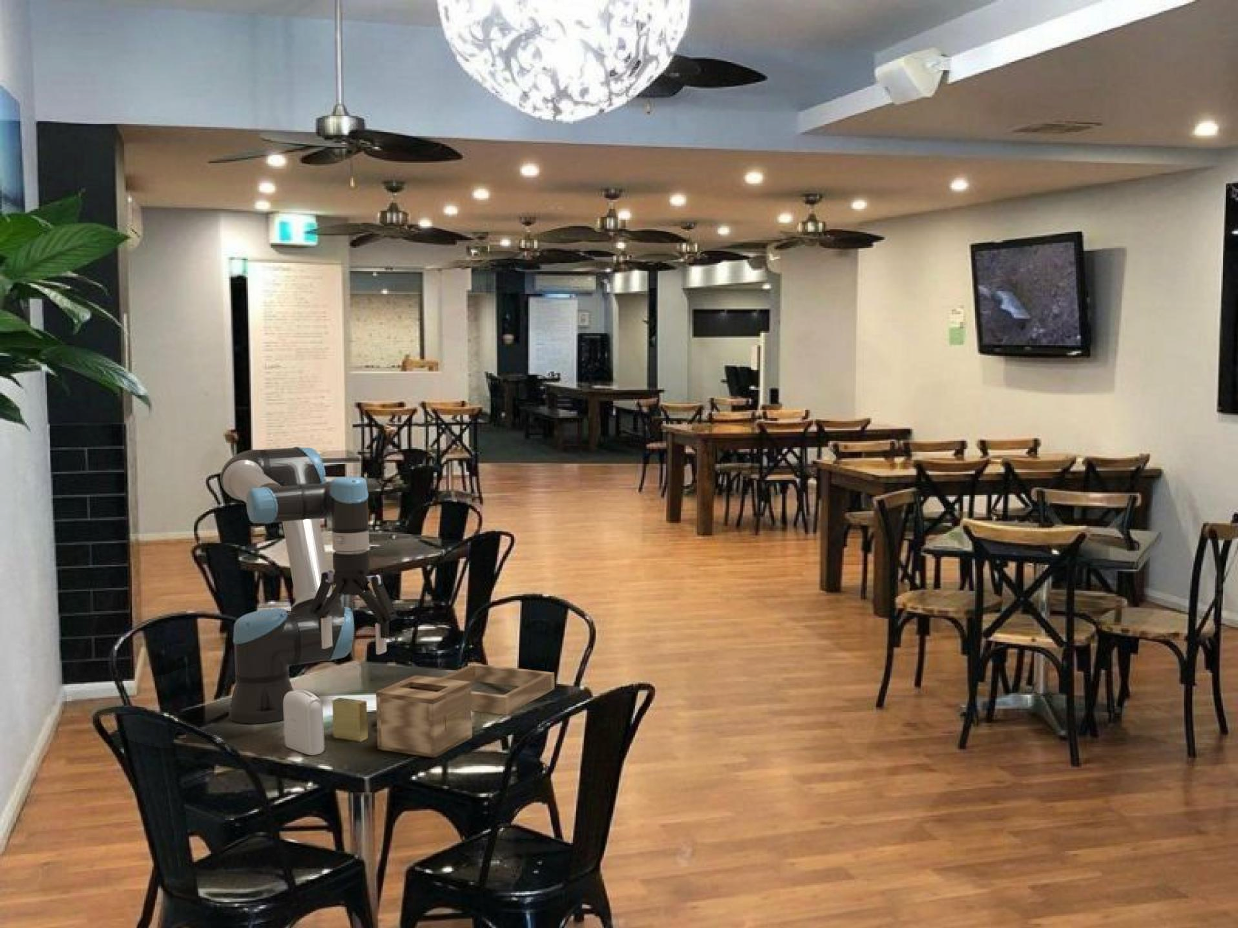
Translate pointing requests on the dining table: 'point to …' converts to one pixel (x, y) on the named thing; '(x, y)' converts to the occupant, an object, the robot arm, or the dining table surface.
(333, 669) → the dining table surface
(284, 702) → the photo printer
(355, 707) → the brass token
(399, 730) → the coin box
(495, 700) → the frame
